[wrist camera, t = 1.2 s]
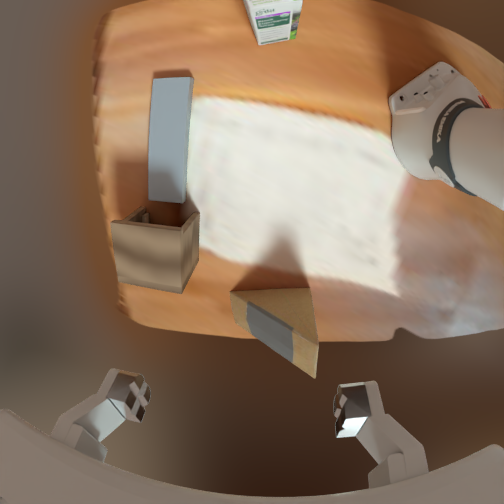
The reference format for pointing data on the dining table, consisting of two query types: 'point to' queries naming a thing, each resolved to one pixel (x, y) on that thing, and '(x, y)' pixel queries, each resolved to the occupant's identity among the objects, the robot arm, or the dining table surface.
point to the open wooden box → (155, 251)
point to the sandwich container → (280, 322)
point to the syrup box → (273, 19)
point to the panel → (169, 138)
